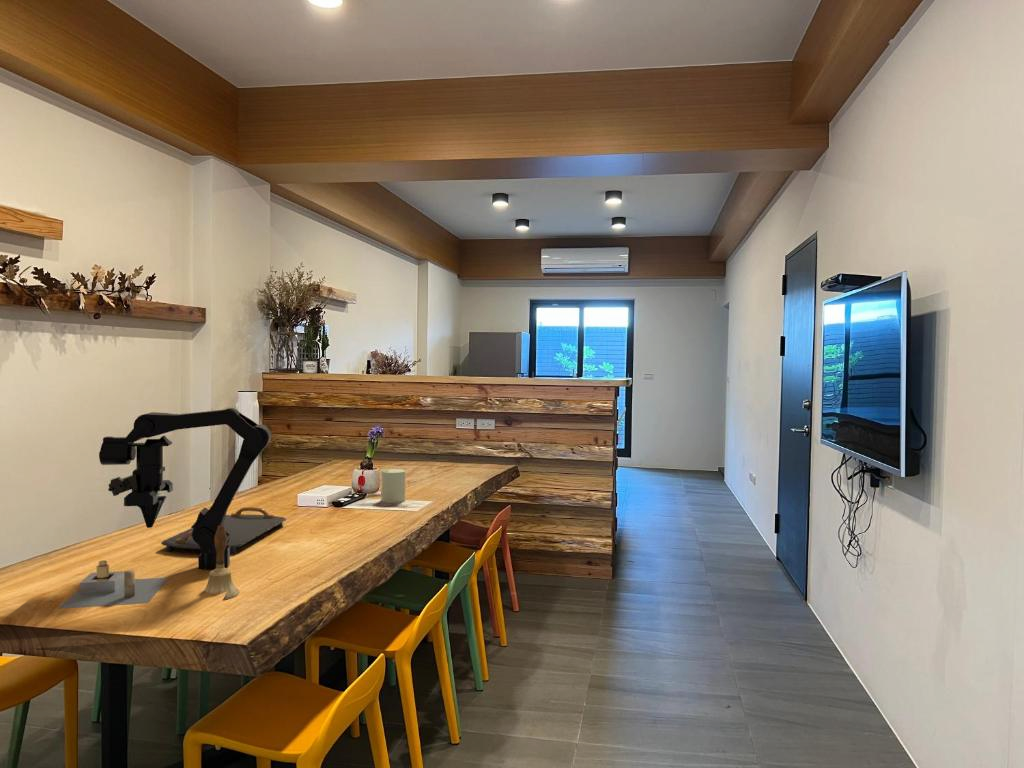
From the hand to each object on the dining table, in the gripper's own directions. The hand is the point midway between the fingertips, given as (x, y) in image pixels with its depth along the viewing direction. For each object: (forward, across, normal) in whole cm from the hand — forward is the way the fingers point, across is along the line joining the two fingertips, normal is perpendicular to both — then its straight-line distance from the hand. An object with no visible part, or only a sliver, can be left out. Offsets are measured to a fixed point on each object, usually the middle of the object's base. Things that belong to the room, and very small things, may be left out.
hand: (149, 527), depth 164 cm
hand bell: (+12, +17, +19) cm, 28 cm away
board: (+12, +16, -2) cm, 20 cm away
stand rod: (+10, +19, +1) cm, 22 cm away
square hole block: (+10, +12, -6) cm, 17 cm away
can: (+12, -79, +64) cm, 102 cm away
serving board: (+13, -34, +12) cm, 39 cm away
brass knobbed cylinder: (+11, +12, -6) cm, 17 cm away
